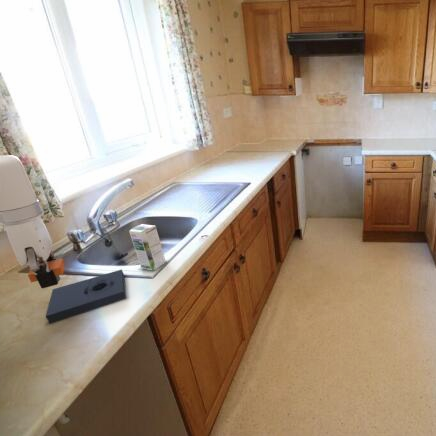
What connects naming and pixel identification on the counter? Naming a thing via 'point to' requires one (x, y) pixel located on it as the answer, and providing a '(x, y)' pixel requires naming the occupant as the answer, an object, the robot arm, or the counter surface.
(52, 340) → the counter surface
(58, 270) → the top pad
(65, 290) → the base pad
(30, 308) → the counter surface
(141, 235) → the syrup box
